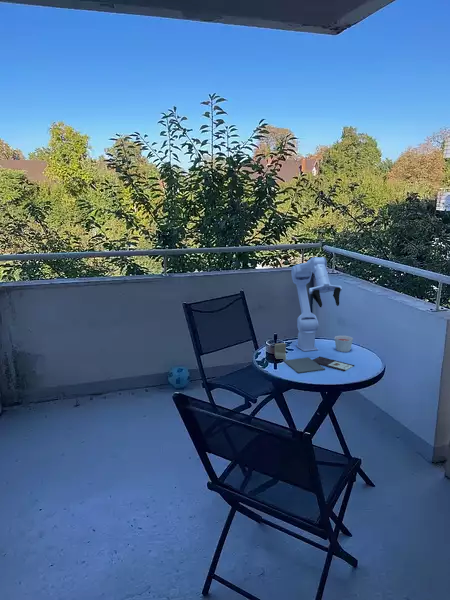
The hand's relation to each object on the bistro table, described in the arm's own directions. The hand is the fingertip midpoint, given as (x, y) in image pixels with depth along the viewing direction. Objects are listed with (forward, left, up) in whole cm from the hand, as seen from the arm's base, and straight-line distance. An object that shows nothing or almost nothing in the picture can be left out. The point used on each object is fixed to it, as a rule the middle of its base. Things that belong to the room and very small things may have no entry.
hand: (329, 305), depth 183 cm
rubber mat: (-6, -9, -29) cm, 31 cm away
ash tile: (-17, -16, -29) cm, 37 cm away
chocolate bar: (-4, +4, -29) cm, 30 cm away
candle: (-20, +20, -29) cm, 40 cm away
